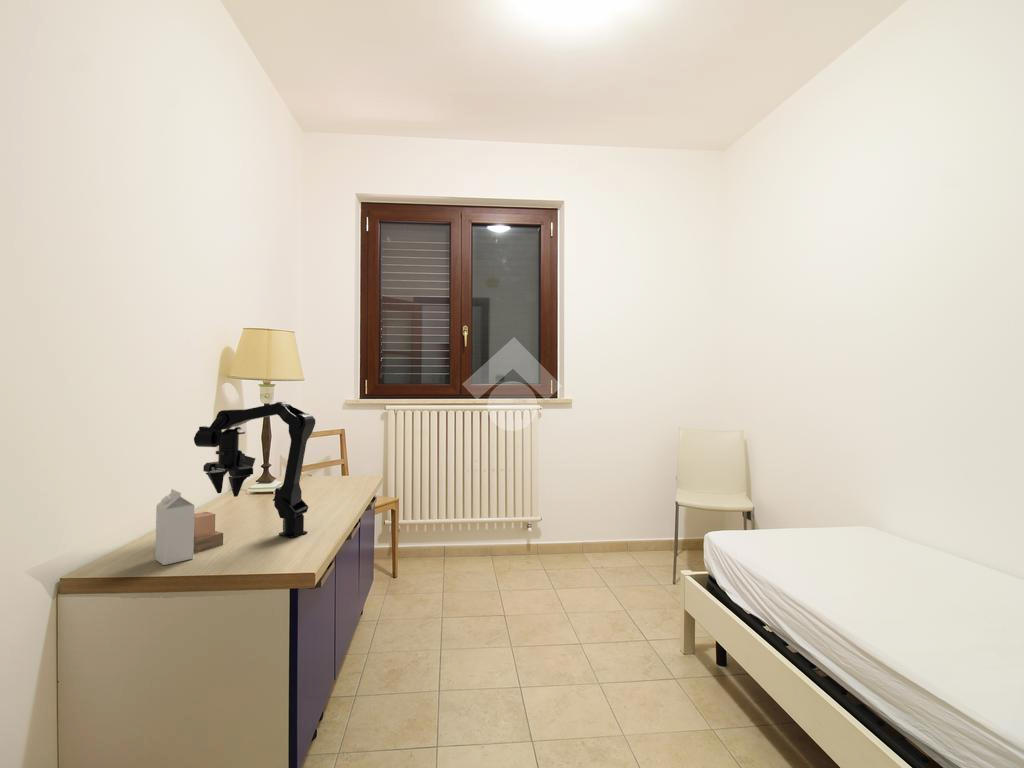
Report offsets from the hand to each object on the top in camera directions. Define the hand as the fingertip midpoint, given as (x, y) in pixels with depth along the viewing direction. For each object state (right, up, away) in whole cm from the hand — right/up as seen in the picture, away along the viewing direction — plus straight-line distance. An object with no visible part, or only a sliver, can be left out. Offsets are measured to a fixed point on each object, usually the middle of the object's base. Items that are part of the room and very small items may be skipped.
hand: (227, 494), depth 165 cm
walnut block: (+1, -12, -16) cm, 20 cm away
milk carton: (+1, -12, -27) cm, 30 cm away
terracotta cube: (+1, -8, -16) cm, 18 cm away
